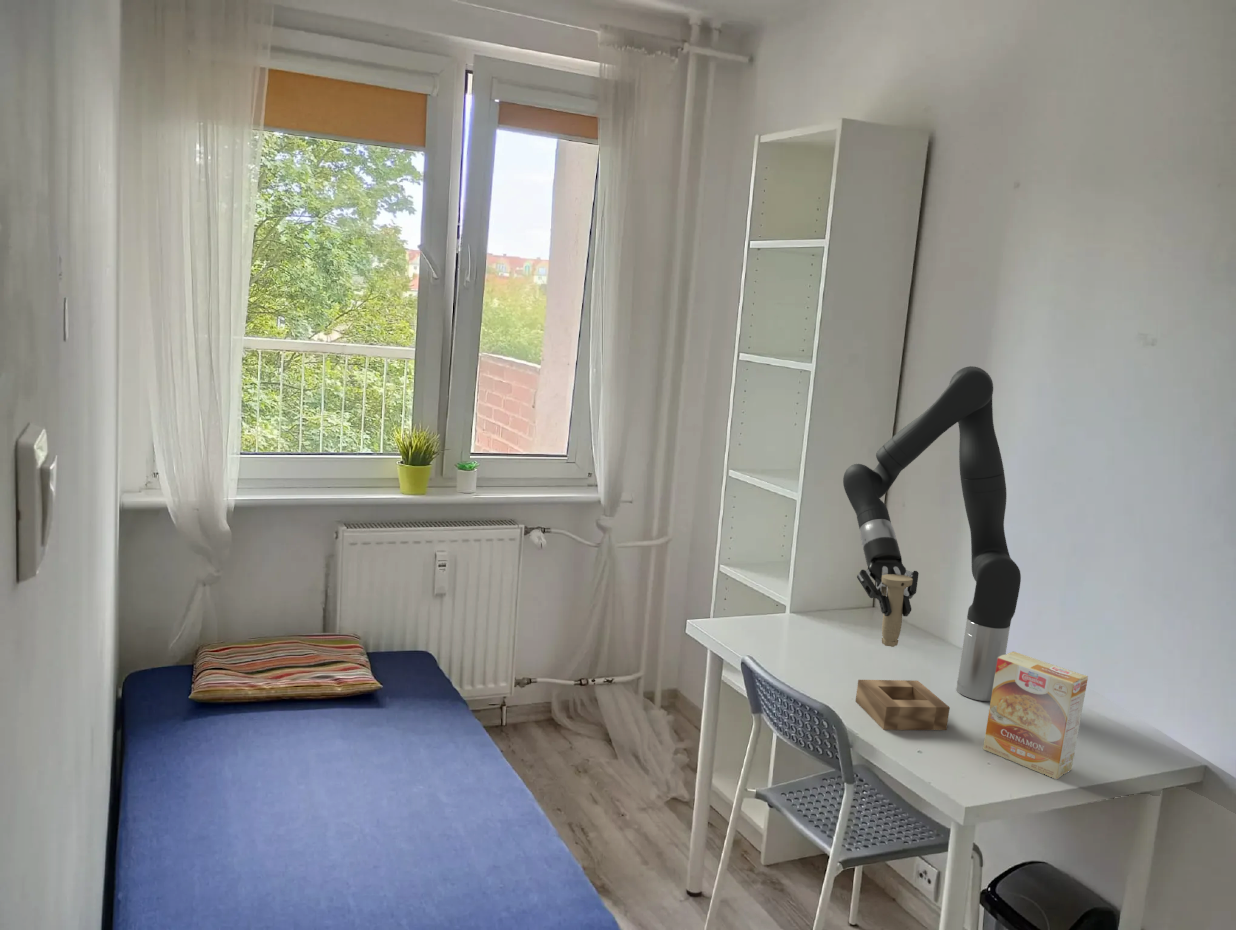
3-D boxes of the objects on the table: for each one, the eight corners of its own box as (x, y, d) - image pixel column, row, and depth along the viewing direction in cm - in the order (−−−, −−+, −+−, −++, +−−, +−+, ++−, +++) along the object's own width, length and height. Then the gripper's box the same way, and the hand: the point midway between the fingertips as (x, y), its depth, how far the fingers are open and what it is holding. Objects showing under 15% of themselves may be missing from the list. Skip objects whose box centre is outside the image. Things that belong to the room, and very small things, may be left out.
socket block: (914, 701, 213) (917, 680, 212) (946, 730, 199) (949, 707, 199) (855, 701, 210) (858, 679, 210) (883, 729, 197) (886, 706, 196)
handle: (908, 648, 206) (916, 580, 203) (881, 649, 204) (889, 580, 201) (897, 640, 210) (904, 574, 208) (870, 641, 209) (878, 574, 206)
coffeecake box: (981, 749, 192) (996, 656, 188) (998, 740, 196) (1013, 649, 193) (1056, 780, 181) (1073, 682, 178) (1072, 770, 186) (1089, 675, 182)
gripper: (855, 534, 209) (872, 606, 200) (916, 536, 212) (936, 607, 202) (843, 552, 215) (859, 622, 206) (903, 553, 218) (921, 622, 208)
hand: (897, 614), depth 204 cm, fingers closed on handle, 3 cm apart
